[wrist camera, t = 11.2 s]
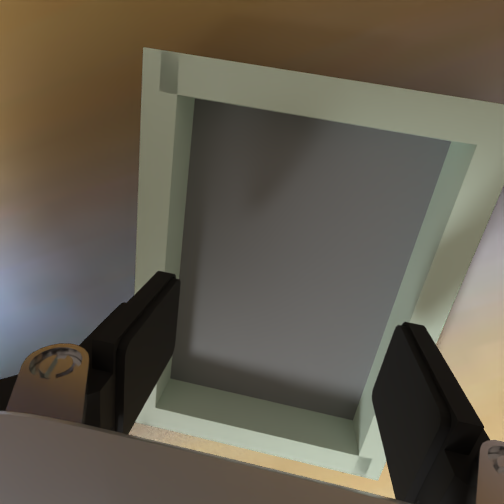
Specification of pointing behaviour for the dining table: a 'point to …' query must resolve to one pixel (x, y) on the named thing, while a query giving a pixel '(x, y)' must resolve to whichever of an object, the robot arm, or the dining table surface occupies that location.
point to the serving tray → (301, 244)
